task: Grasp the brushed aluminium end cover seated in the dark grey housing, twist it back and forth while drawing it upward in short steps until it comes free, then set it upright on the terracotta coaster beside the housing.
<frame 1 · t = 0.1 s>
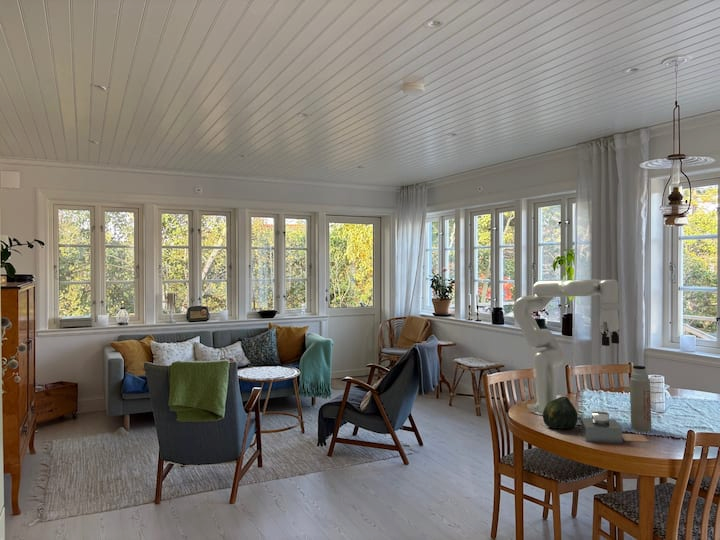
hand: (610, 344, 241), 37 cm above the table, tool pointing down, fingers open, 9 cm apart
coaster: (633, 438, 224), on the table
end cover: (600, 424, 226), in the housing
housing: (600, 437, 226), on the table
squash: (560, 427, 242), on the table
thermos bottle: (641, 429, 236), on the table
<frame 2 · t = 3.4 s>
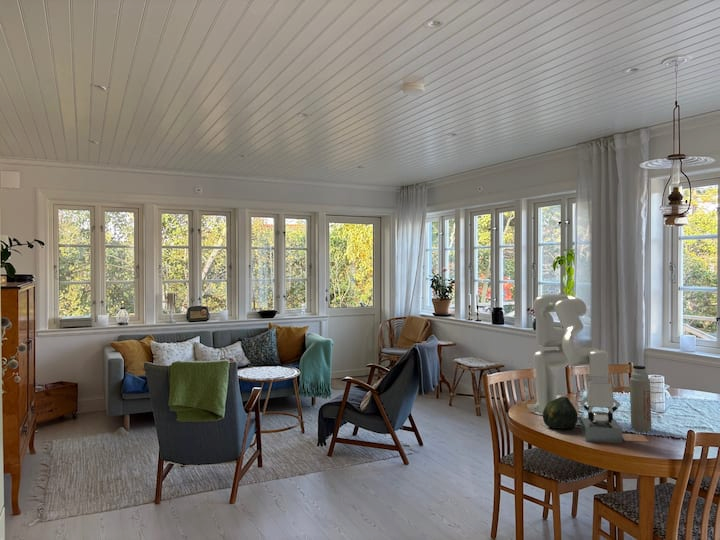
hand: (600, 421, 226), 7 cm above the table, tool pointing down, fingers closed on end cover, 6 cm apart
end cover: (600, 424, 226), in the housing, touching gripper
everything else where it was.
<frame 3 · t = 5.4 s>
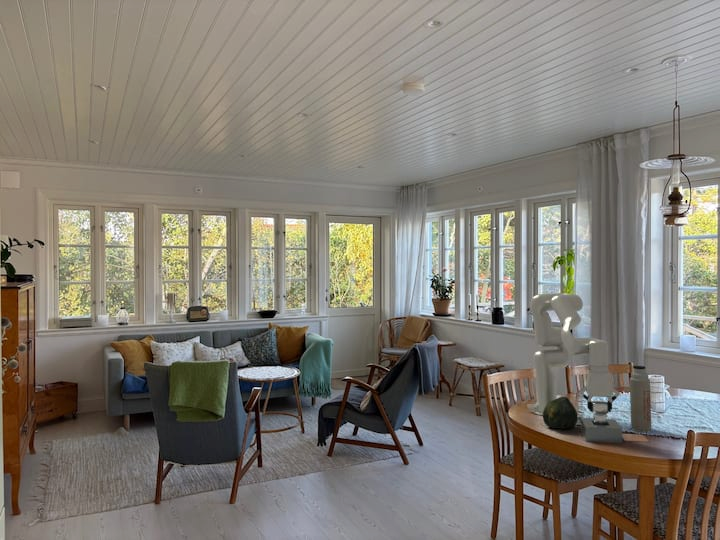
hand: (599, 410, 227), 11 cm above the table, tool pointing down, fingers closed on end cover, 6 cm apart
end cover: (599, 414, 227), point 10 cm above the table, touching gripper
everything else where it was.
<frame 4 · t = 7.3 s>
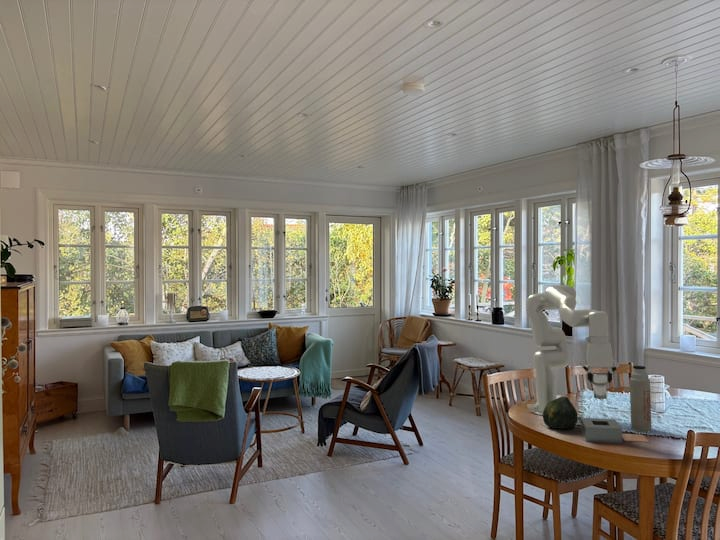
hand: (599, 381, 227), 24 cm above the table, tool pointing down, fingers closed on end cover, 6 cm apart
end cover: (599, 385, 227), point 22 cm above the table, touching gripper
everything else where it was.
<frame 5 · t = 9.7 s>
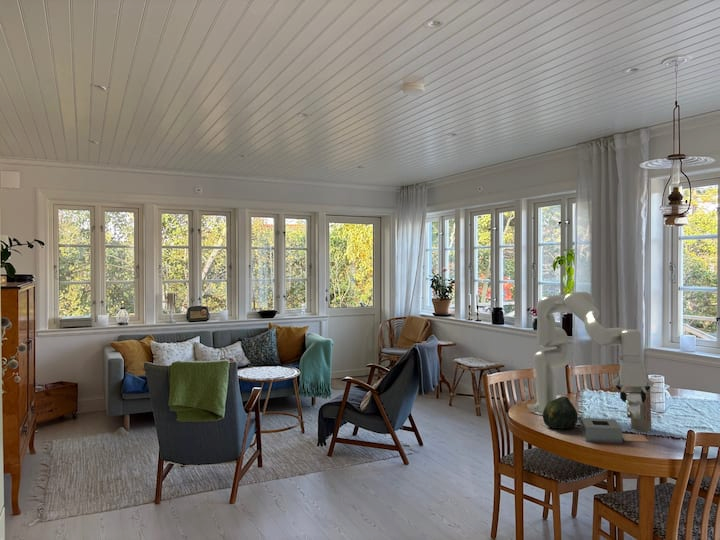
hand: (633, 400, 224), 16 cm above the table, tool pointing down, fingers closed on end cover, 6 cm apart
end cover: (633, 404, 224), point 14 cm above the table, touching gripper
everything else where it was.
when the fingers open (8 cm above the table, at t = 11.6 s): end cover drops 1 cm, resting on coaster.
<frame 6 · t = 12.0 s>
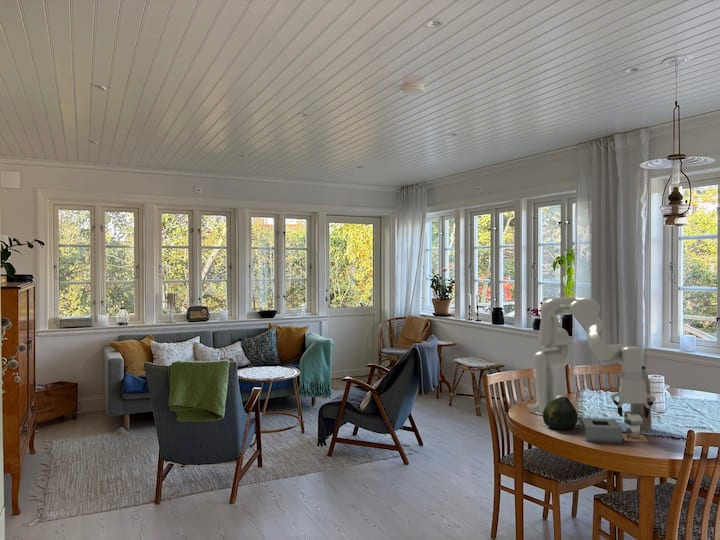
hand: (633, 416, 224), 9 cm above the table, tool pointing down, fingers open, 9 cm apart
end cover: (633, 424, 224), resting on coaster
everything else where it was.
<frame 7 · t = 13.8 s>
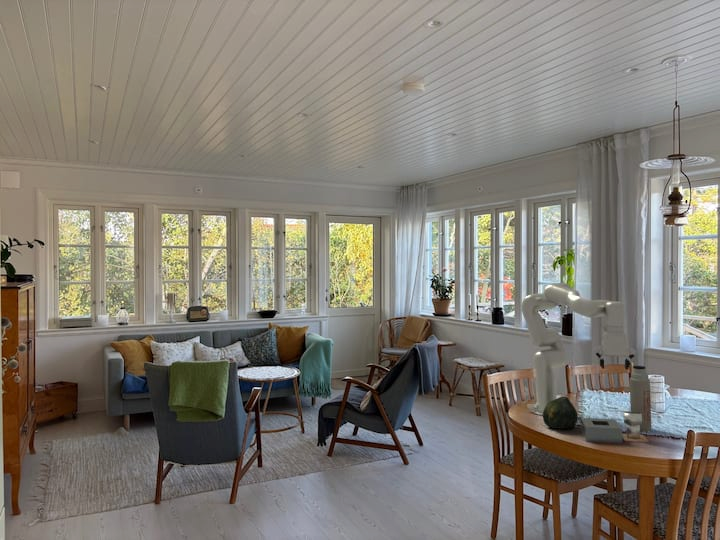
hand: (614, 368, 234), 28 cm above the table, tool pointing down, fingers open, 9 cm apart
nothing on the table moved.
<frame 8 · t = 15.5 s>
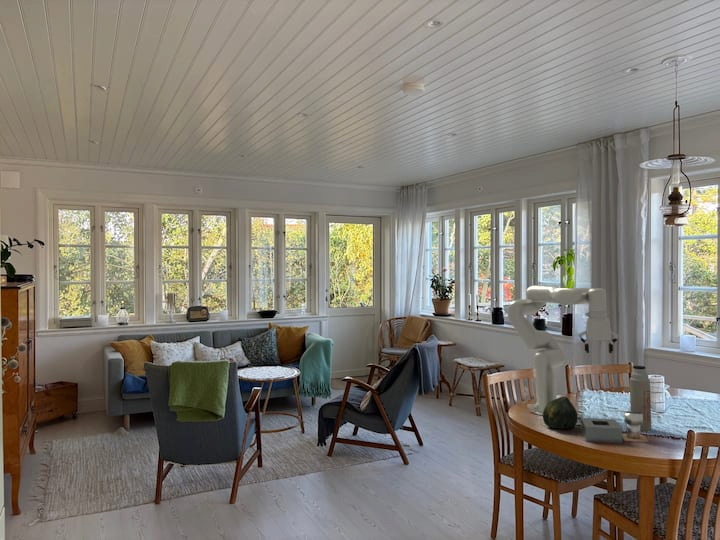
hand: (598, 352, 243), 33 cm above the table, tool pointing down, fingers open, 9 cm apart
nothing on the table moved.
at the end: end cover 0.1 cm off-centre on the coaster, point 5.6 cm above the coaster's base; end cover tilted 1°; the gripper is holding nothing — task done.
